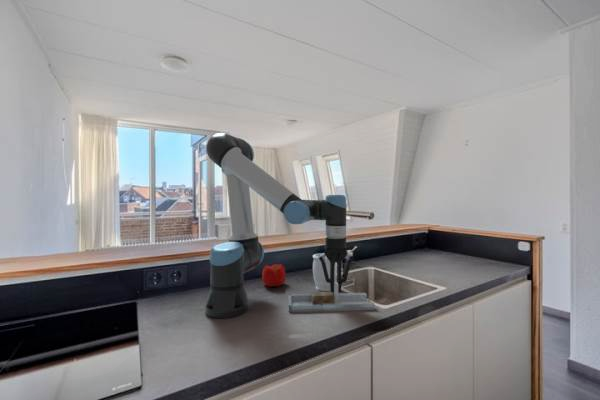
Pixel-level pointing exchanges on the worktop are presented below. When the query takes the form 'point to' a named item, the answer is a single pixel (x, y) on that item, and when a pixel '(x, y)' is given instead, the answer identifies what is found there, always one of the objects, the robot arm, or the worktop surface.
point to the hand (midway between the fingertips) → (335, 300)
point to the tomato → (274, 275)
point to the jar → (322, 273)
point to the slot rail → (344, 303)
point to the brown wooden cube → (329, 297)
